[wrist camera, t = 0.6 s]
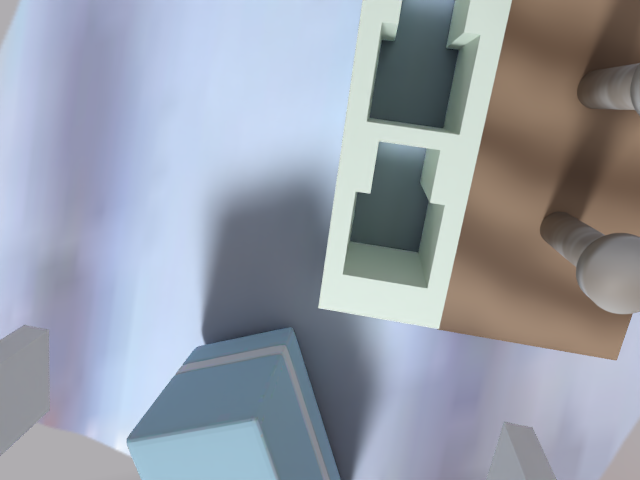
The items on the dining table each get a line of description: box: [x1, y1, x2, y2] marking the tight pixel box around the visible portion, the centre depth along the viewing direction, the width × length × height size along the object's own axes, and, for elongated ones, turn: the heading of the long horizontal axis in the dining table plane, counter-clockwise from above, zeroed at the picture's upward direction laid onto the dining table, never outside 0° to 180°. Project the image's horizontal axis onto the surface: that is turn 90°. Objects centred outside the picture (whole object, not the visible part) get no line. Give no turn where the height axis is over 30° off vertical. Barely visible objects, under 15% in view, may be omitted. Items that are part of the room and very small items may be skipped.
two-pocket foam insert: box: [318, 0, 512, 329], centre depth 29 cm, size 21×7×7 cm, turn 172°
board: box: [438, 0, 640, 360], centre depth 26 cm, size 25×12×11 cm, turn 172°
